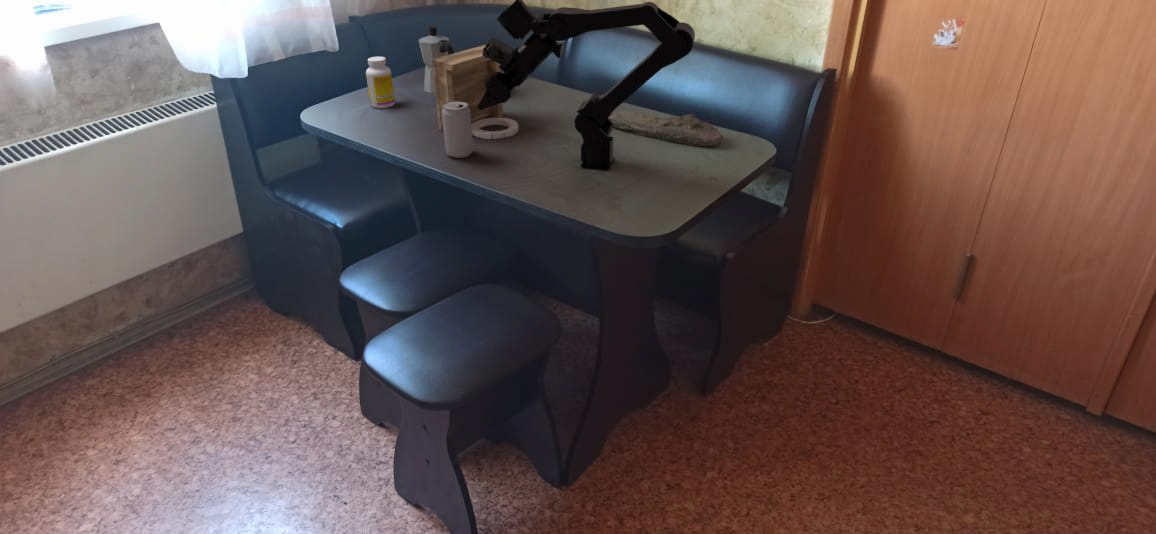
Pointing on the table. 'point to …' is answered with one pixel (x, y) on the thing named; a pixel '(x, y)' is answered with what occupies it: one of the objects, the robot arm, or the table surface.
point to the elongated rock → (668, 128)
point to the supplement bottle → (380, 83)
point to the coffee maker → (433, 55)
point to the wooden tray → (464, 82)
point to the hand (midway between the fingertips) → (485, 101)
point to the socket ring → (495, 134)
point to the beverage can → (457, 129)
